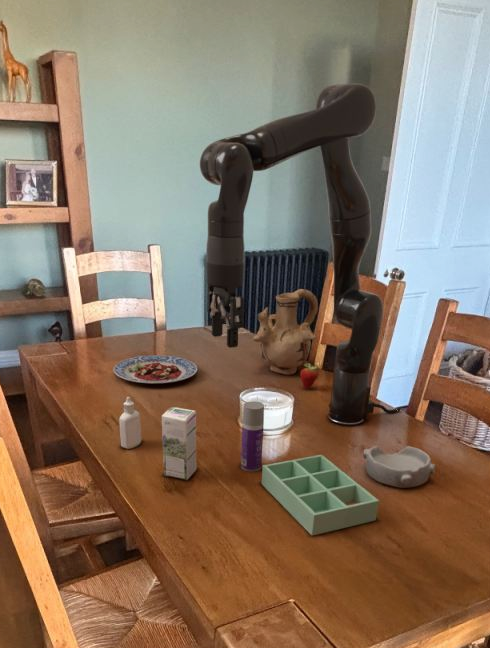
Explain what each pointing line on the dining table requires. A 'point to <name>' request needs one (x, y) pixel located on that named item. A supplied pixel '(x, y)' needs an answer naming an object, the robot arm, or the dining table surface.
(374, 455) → the dish
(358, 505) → the rack
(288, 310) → the ceramic vessel
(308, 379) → the fruit
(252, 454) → the container
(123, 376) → the ceramic plate
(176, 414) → the syrup box
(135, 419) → the eye dropper bottle
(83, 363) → the dining table surface
